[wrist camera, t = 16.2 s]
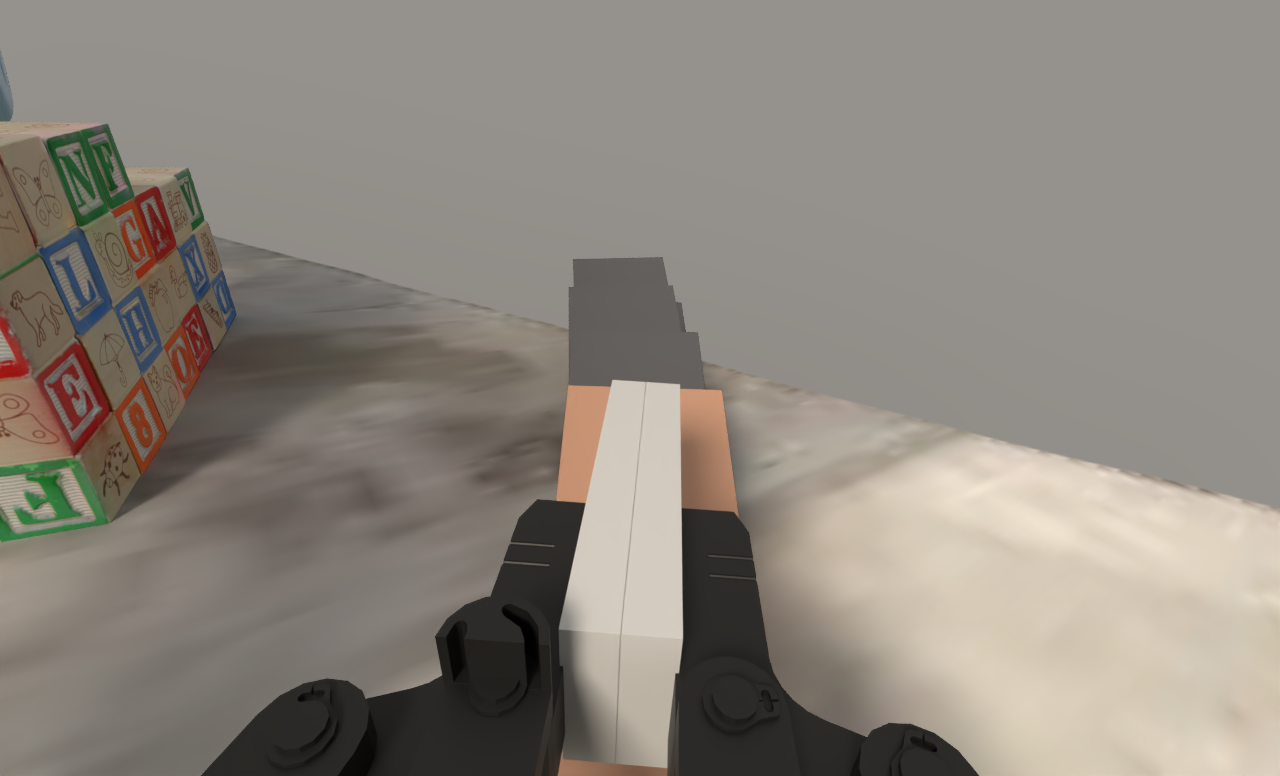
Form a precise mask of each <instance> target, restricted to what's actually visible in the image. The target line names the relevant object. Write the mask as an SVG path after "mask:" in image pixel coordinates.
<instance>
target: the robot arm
mask: <svg viewBox="0 0 1280 776" xmlns="http://www.w3.org/2000/svg"><path fill="white" fill-rule="evenodd" d="M12 115H13V99H12V93H11V89H10V85H9V81H8V77H7V73H6V69H5V65H4V61H3V58H2V55H1V51H0V122H10V120H11V118H12ZM435 638H436V643H437V648H438V654H439V659H440V665H441V670H442V676H440V677H439V678H437V679H435V680H433V681H431V682H430V683H427V684H424V685H421V686H418V687H415V688H411V689H407V690H403V691H398V692H394V693H389V694H385V695H381V696H376V697H372V698H368V699H365V696H364V694H363V691H362V690H360V689H359V688H357V687H356V686H354V685H353V684H351V683H350V682H348V681H343V680H335V679H323V680H318V681H314V682H309V683H304V684H302V685H300V686H298V687H296V688H294V689H292V690H290V691H288V692H286V693H284V694H282V695H280V696H279V697H278V698H276V699H275V700H274V701H273V702H272V703H271V704H269V705H268V706H267V707H266V708H265V709H263V710H262V711H261V712H260V713H259V714H258V715H257V716H256V717H255V718H254V719H253V720H252V721H251V722H250V723H249V724H248V725H247V726H246V728H245V729H244V730H243V731H242V732H241V733H240V734H239V735H238V736H237V737H236V738H235V739H234V740H233V742H232V743H231V744H230V745H229V746H228V747H227V748H226V749H225V750H224V751H223V752H222V753H221V755H220V756H219V757H218V758H217V759H216V760H215V761H214V762H213V763H212V764H211V765H210V766H209V767H208V769H207V770H206V771H205V772H204V773H203V774H202V775H201V776H558V772H559V766H560V760H561V754H562V748H563V759H567V760H578V761H590V762H602V763H614V764H625V765H637V766H649V767H661V768H667V776H979V775H978V774H977V772H976V771H975V770H974V769H973V768H972V766H971V765H970V764H969V763H968V762H967V761H966V759H965V758H964V757H963V756H962V755H961V753H960V752H959V751H958V750H957V749H955V748H954V747H953V746H951V745H950V744H949V743H947V742H946V741H945V740H943V739H942V738H940V737H939V736H938V735H936V734H935V733H933V732H930V731H927V730H925V729H922V728H920V727H917V726H915V725H912V724H898V723H888V724H886V725H884V726H881V727H879V728H877V729H874V730H872V731H871V733H870V734H869V735H868V737H865V736H862V735H860V734H857V733H855V732H853V731H850V730H848V729H845V728H843V727H840V726H838V725H835V724H833V723H830V722H828V721H825V720H823V719H821V718H819V717H817V716H815V715H814V714H812V713H810V712H808V711H806V710H805V709H804V708H803V707H801V706H800V705H799V704H797V703H796V702H795V701H794V700H793V699H792V698H791V697H790V696H789V695H788V694H787V693H786V691H785V690H784V689H783V688H782V687H781V685H780V683H779V682H778V680H777V678H776V676H775V675H774V673H773V670H772V666H771V663H770V660H769V654H768V648H767V642H766V635H765V629H764V623H763V617H762V611H761V604H760V598H759V592H758V586H757V582H756V573H755V567H754V561H753V555H752V549H751V543H750V536H749V532H748V531H747V529H746V528H745V527H744V525H743V524H742V522H741V521H740V520H739V518H738V517H737V515H736V514H735V513H734V512H730V511H717V510H703V509H689V508H681V431H680V384H668V383H653V382H638V381H623V380H612V384H611V389H610V394H609V398H608V403H607V407H606V412H605V417H604V421H603V426H602V431H601V435H600V440H599V444H598V449H597V454H596V458H595V463H594V468H593V472H592V477H591V482H590V486H589V491H588V495H587V500H586V503H580V502H566V501H552V500H539V499H537V500H536V501H535V502H534V503H533V504H532V505H531V506H530V507H529V508H528V509H527V510H526V511H525V512H524V513H523V514H522V515H521V516H520V517H519V519H518V522H517V525H516V528H515V530H514V533H513V536H512V539H511V544H510V545H509V547H508V550H507V552H506V555H505V558H504V563H503V564H502V566H501V569H500V572H499V574H498V577H497V580H496V583H495V585H494V588H493V591H492V594H491V597H485V598H482V599H479V600H477V601H474V602H472V603H469V604H466V605H464V606H463V607H462V608H461V609H459V610H458V611H457V612H455V613H454V614H453V615H451V616H450V617H449V618H447V620H446V621H445V623H444V624H443V626H442V627H441V629H440V630H439V632H438V633H437V635H436V636H435Z"/></svg>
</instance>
